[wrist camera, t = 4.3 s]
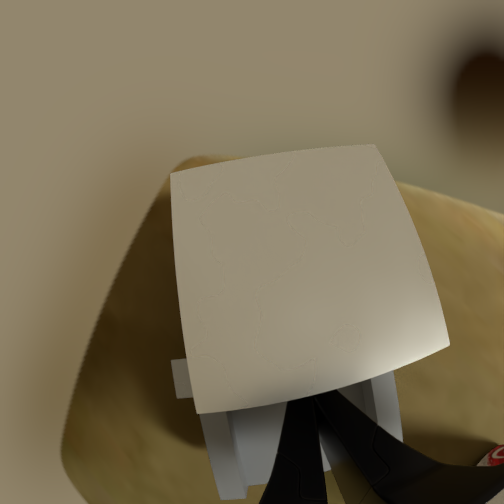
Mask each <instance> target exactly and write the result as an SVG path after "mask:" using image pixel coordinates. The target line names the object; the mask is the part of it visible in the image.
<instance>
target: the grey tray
mask: <svg viewBox="0 0 504 504" xmlns="http://www.w3.org/2000/svg"><path fill="white" fill-rule="evenodd" d="M337 390H338V391H339V392H340V393H341V394H343V395H344V396H345V397H346V398H347V399H348V400H350V401H351V402H352V403H353V404H354V405H355V406H357V407H358V408H359V409H360V410H361V411H363V412H364V413H365V414H366V415H367V416H369V417H370V418H371V419H372V420H373V421H375V422H376V423H377V426H378V425H380V426H381V427H382V428H383V429H385V430H386V431H387V432H388V433H390V434H391V435H392V436H394V437H395V438H397V439H398V440H400V441H401V442H403V437H402V427H401V419H400V411H399V404H398V397H397V391H396V385H395V379H394V373H393V370H392V371H389V372H387V373H384V374H381V375H378V376H375V377H373V378H370V379H367V380H364V381H361V382H358V383H354V384H351V385H348V386H345V387H341V388H338V389H337ZM286 405H287V401H285V402H280V403H275V404H270V405H264V406H258V407H252V408H246V409H239V410H231V411H223V412H214V413H203V414H199V415H200V420H201V424H202V429H203V433H204V438H205V442H206V446H207V451H208V455H209V459H210V463H211V466H212V470H213V474H214V478H215V481H216V485H217V488H218V492H219V495H220V499H221V500H230V499H243V498H246V496H247V489H248V486H251V485H259V484H266V483H268V481H269V478H270V476H271V472H272V469H273V465H274V462H275V457H276V454H277V449H278V444H279V440H280V435H281V430H282V425H283V420H284V415H285V410H286ZM320 446H321V454H322V461H323V468H324V472H325V471H328V470H331V467H330V465H329V462H328V460H327V458H326V455H325V453H324V450H323V448H322V445H321V443H320Z"/></svg>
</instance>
